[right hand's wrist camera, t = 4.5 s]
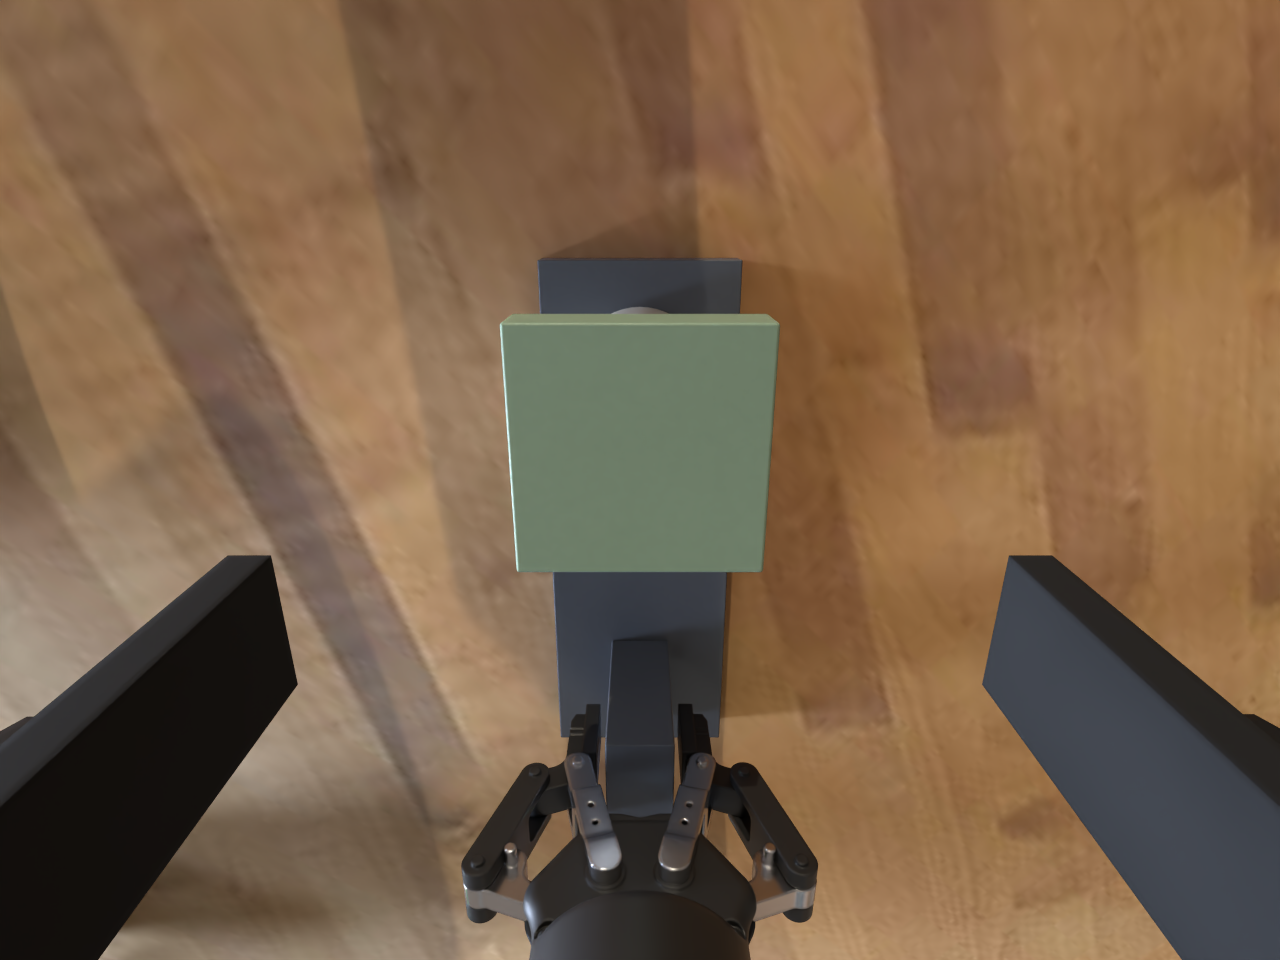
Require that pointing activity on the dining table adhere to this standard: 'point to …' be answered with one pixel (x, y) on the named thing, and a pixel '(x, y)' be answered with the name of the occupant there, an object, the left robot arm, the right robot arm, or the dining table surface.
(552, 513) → the green square block
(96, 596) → the dining table surface
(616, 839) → the left robot arm
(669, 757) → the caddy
